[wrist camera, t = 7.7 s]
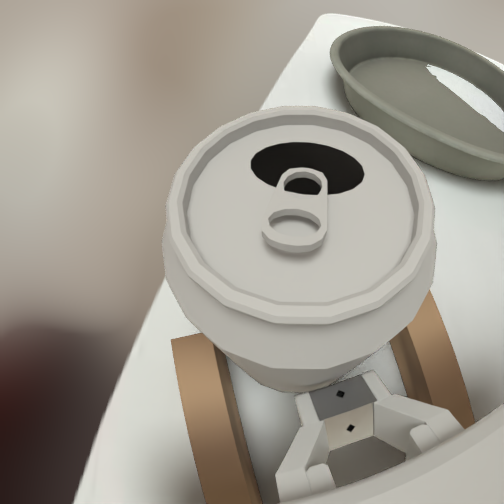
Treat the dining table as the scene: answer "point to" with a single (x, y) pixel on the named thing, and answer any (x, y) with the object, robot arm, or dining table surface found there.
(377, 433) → the robot arm
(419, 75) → the cake pan
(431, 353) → the parallel wooden bars
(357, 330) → the can
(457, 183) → the dining table surface
